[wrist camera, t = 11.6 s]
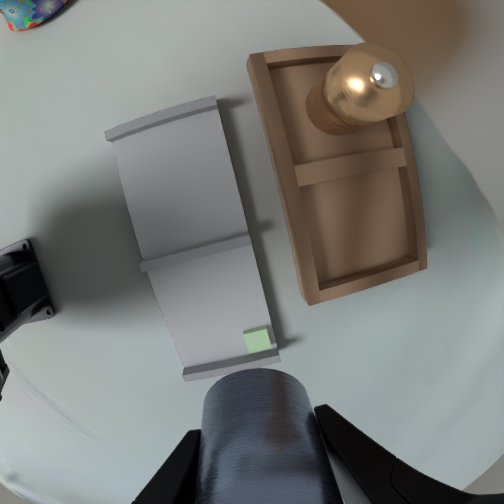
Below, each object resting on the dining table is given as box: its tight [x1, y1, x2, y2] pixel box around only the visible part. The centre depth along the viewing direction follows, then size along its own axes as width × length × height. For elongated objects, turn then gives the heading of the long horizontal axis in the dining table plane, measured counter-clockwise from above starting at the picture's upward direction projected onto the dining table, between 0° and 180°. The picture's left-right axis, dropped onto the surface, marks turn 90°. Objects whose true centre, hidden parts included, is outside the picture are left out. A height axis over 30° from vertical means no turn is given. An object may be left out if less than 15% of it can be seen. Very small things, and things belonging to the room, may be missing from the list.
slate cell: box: [194, 368, 344, 504], centre depth 6 cm, size 4×4×7 cm
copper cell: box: [306, 42, 414, 135], centre depth 13 cm, size 4×4×7 cm
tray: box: [247, 45, 427, 306], centre depth 17 cm, size 9×16×2 cm, turn 14°
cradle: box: [104, 96, 281, 382], centre depth 18 cm, size 7×18×2 cm, turn 14°
